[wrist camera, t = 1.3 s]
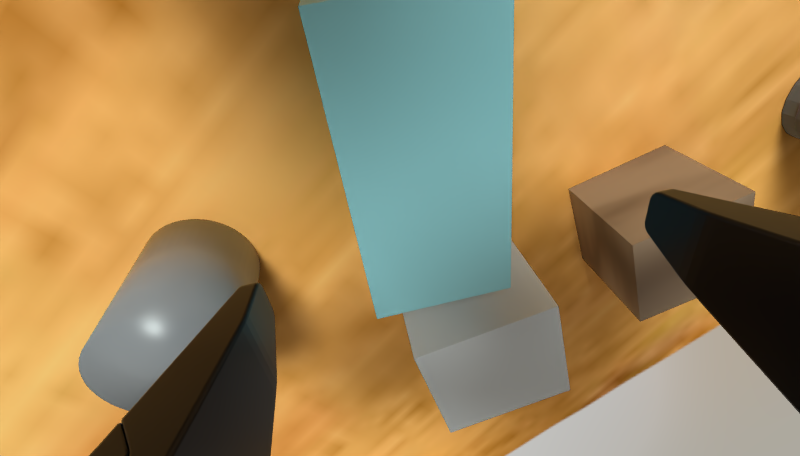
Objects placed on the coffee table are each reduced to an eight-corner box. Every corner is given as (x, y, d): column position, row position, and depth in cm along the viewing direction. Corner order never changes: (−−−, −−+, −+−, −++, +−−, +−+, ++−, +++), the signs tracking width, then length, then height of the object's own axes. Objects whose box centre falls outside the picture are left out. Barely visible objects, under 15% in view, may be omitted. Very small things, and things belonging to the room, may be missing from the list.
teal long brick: (461, 206, 20) (510, 287, 15) (361, 229, 20) (377, 318, 15) (445, -35, 14) (514, -34, 9) (304, -9, 14) (298, 6, 9)
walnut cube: (666, 220, 23) (744, 277, 19) (581, 257, 23) (640, 321, 19) (663, 144, 20) (755, 191, 16) (567, 188, 20) (632, 245, 16)
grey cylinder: (274, 292, 21) (261, 396, 16) (173, 314, 20) (128, 428, 15) (237, 208, 18) (207, 303, 13) (121, 233, 17) (43, 340, 12)
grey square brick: (517, 302, 24) (570, 389, 19) (423, 337, 24) (450, 432, 19) (500, 224, 21) (558, 306, 16) (390, 265, 21) (413, 358, 16)
